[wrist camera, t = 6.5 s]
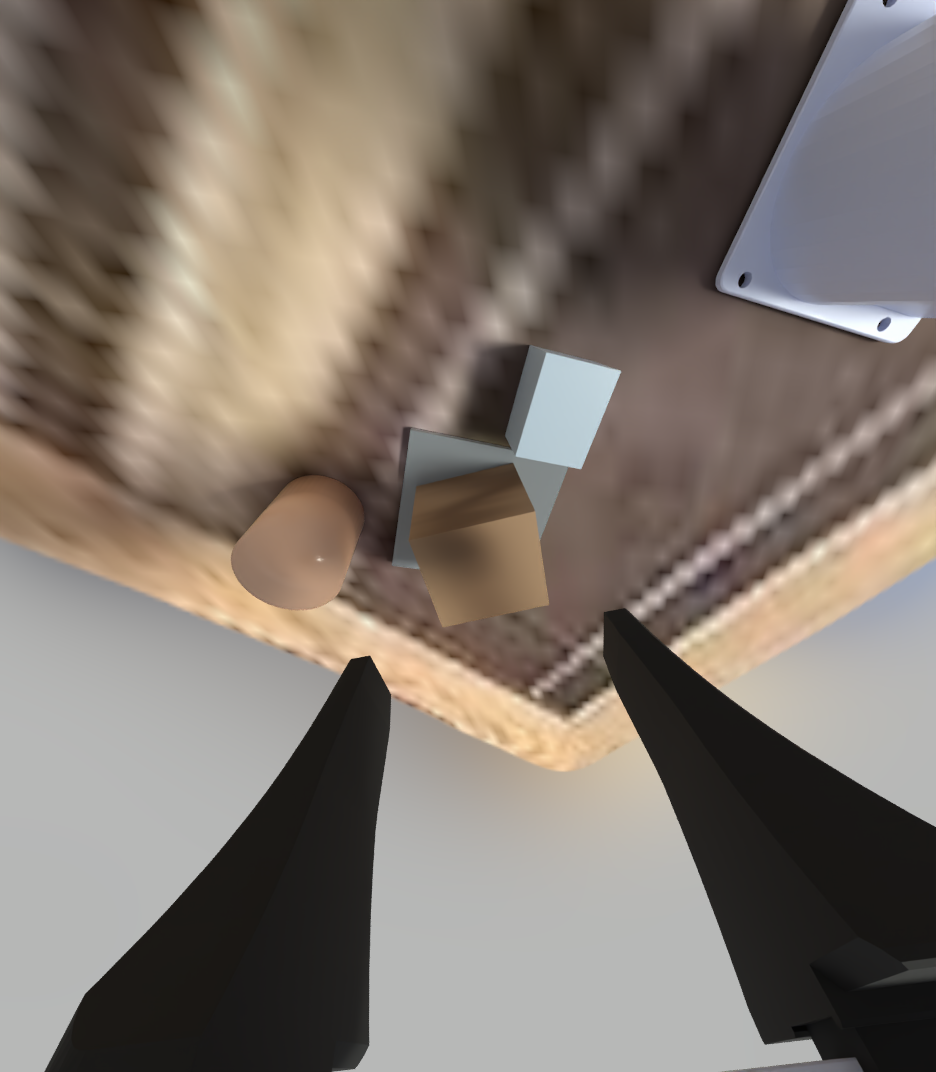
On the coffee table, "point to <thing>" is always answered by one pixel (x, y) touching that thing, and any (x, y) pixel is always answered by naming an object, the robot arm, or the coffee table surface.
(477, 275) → the coffee table surface
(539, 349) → the blue plastic box
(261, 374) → the coffee table surface
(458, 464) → the slate coaster
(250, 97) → the coffee table surface
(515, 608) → the walnut block
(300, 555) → the tan rounded cylinder
